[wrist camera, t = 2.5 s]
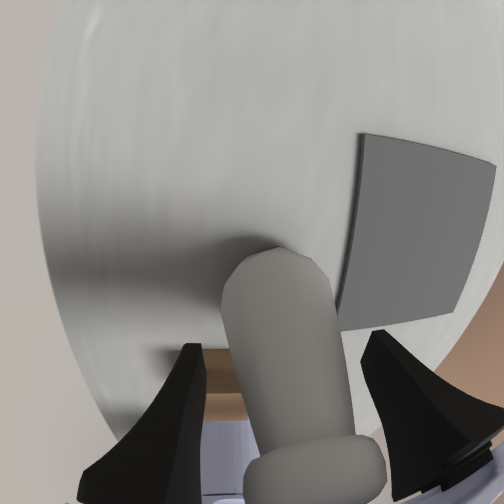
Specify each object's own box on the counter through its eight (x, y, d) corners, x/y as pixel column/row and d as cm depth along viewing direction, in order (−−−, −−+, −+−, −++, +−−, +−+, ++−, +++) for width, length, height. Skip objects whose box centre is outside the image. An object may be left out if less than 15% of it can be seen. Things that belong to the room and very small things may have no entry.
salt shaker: (252, 328, 18) (271, 528, 6) (202, 264, 15) (171, 521, 4) (332, 289, 17) (417, 487, 5) (295, 214, 14) (422, 475, 3)
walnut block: (245, 379, 21) (247, 420, 17) (196, 379, 20) (193, 420, 17) (244, 347, 19) (246, 393, 15) (189, 348, 19) (183, 393, 15)
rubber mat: (450, 309, 19) (452, 312, 19) (331, 328, 18) (333, 332, 18) (492, 164, 13) (496, 165, 13) (361, 133, 12) (365, 134, 12)
